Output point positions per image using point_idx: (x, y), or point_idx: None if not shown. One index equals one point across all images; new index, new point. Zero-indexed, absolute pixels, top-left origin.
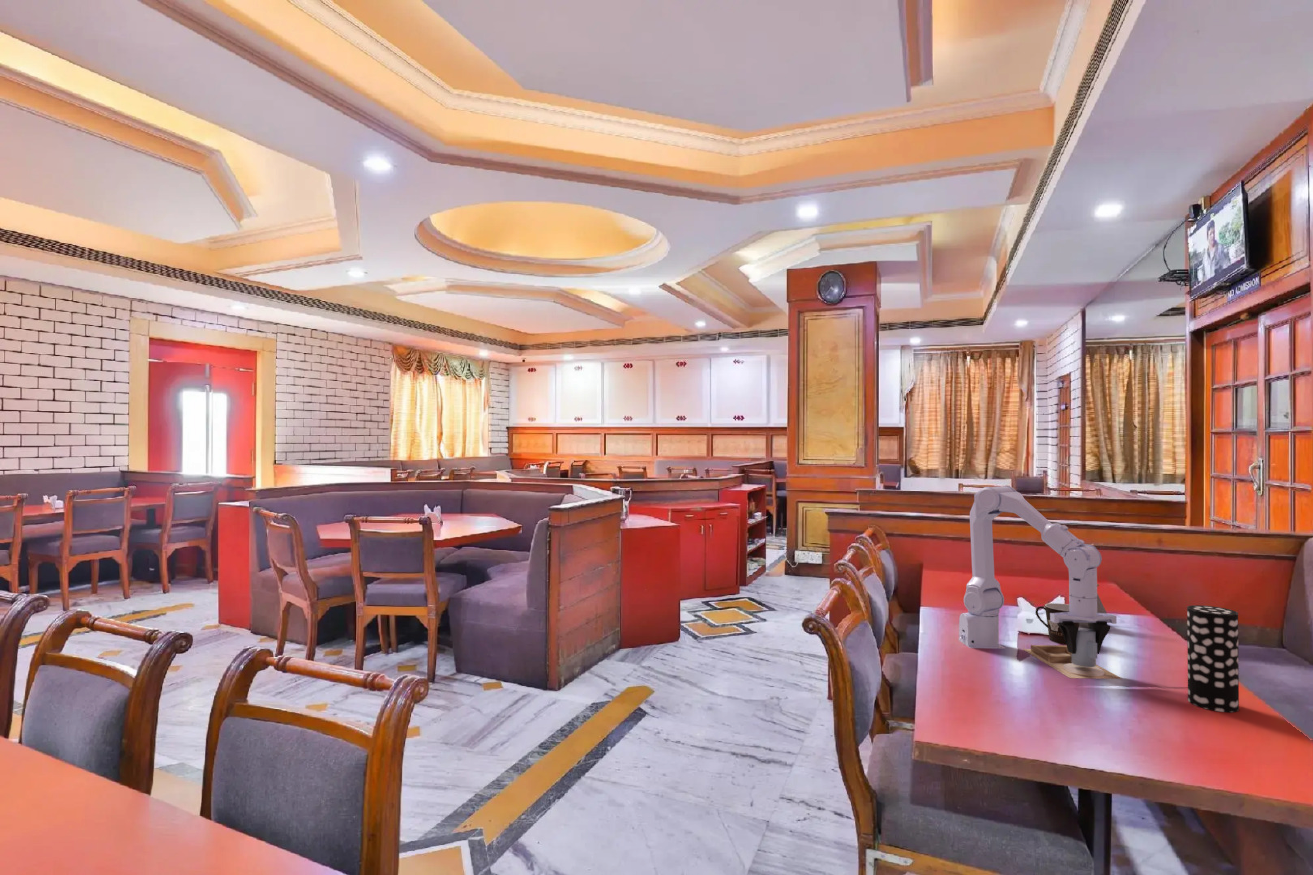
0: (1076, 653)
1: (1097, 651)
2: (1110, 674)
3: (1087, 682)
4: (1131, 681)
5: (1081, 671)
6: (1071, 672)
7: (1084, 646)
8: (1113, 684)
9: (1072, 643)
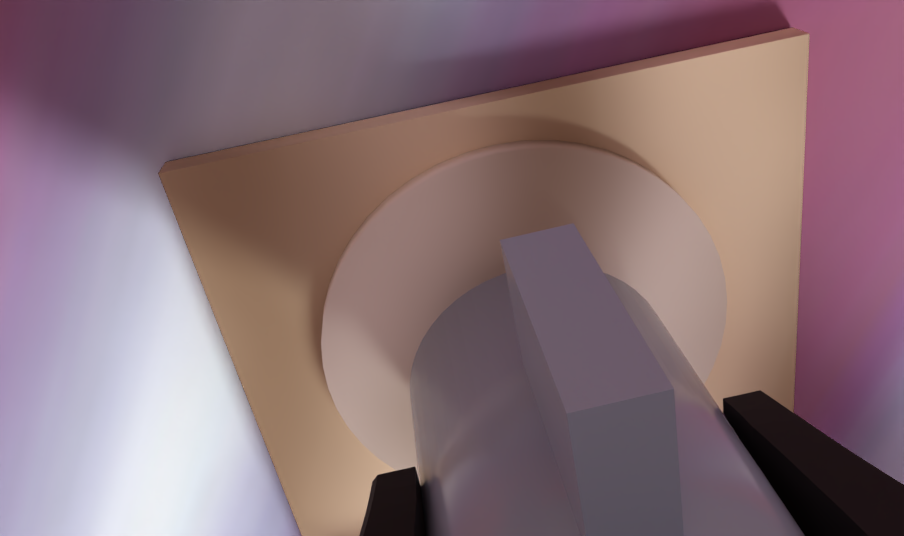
0: (713, 399)
1: (404, 489)
2: (262, 290)
3: (612, 5)
4: (61, 183)
5: (591, 250)
6: (698, 224)
7: (686, 448)
8: (316, 3)
9: (887, 480)
